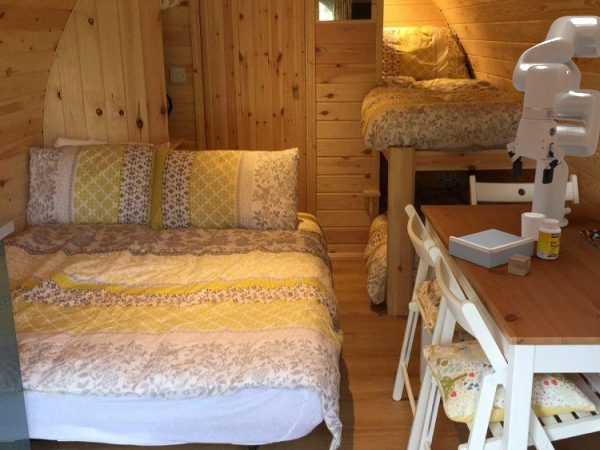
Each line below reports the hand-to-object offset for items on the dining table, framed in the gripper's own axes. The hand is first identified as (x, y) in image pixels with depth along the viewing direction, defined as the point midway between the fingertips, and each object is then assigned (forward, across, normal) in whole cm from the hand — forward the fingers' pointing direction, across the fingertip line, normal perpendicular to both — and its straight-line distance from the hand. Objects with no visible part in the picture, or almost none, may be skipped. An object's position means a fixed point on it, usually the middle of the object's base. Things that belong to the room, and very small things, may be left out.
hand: (531, 180), depth 169 cm
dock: (+21, +5, +7) cm, 23 cm away
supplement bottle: (+21, -4, -4) cm, 22 cm away
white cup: (+21, +9, -15) cm, 27 cm away
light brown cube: (+21, -8, +12) cm, 25 cm away
